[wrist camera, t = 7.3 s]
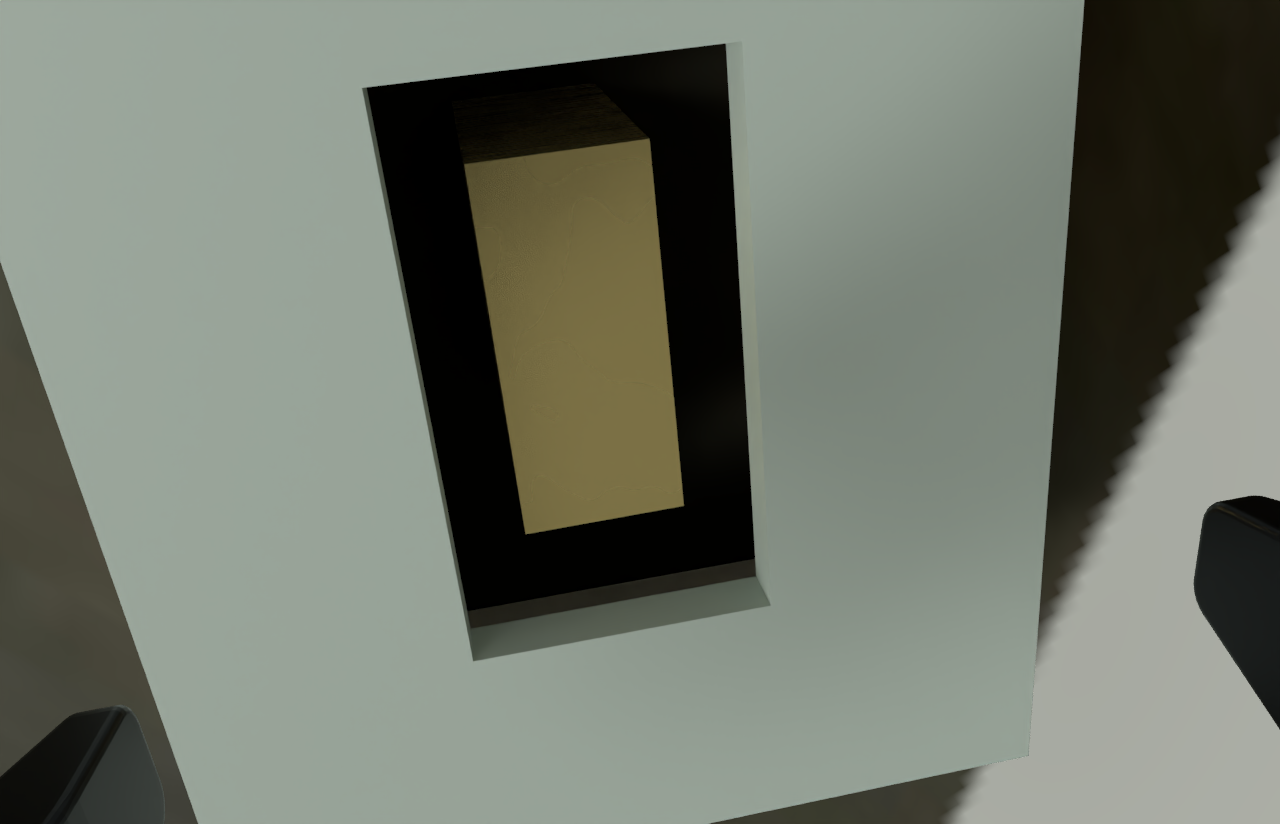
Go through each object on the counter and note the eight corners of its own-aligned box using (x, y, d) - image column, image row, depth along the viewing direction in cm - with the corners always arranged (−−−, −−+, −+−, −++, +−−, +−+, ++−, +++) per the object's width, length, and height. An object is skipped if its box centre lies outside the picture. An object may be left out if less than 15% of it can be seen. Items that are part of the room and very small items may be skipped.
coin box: (892, 565, 24) (1028, 755, 19) (276, 679, 23) (232, 924, 17) (896, -307, 17) (1113, -398, 12) (12, -232, 16) (-198, -299, 10)
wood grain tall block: (626, 378, 21) (683, 505, 17) (501, 399, 21) (525, 534, 17) (593, 82, 19) (650, 138, 14) (451, 101, 19) (463, 164, 14)
